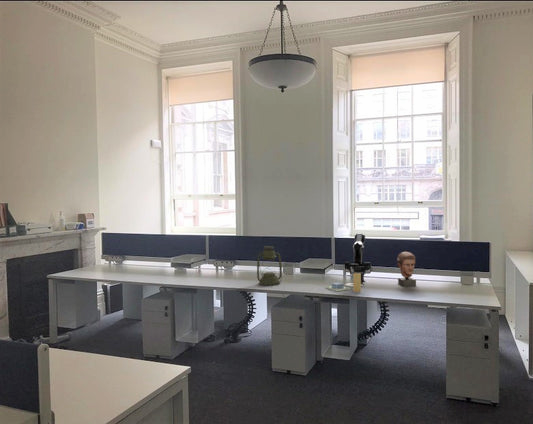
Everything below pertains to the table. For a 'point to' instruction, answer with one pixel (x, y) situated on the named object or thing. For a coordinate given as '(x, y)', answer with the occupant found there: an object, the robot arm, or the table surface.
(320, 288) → the table surface
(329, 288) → the baseplate
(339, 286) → the base brick
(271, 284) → the lantern
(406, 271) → the bust
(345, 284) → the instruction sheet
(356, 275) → the pillar brick
